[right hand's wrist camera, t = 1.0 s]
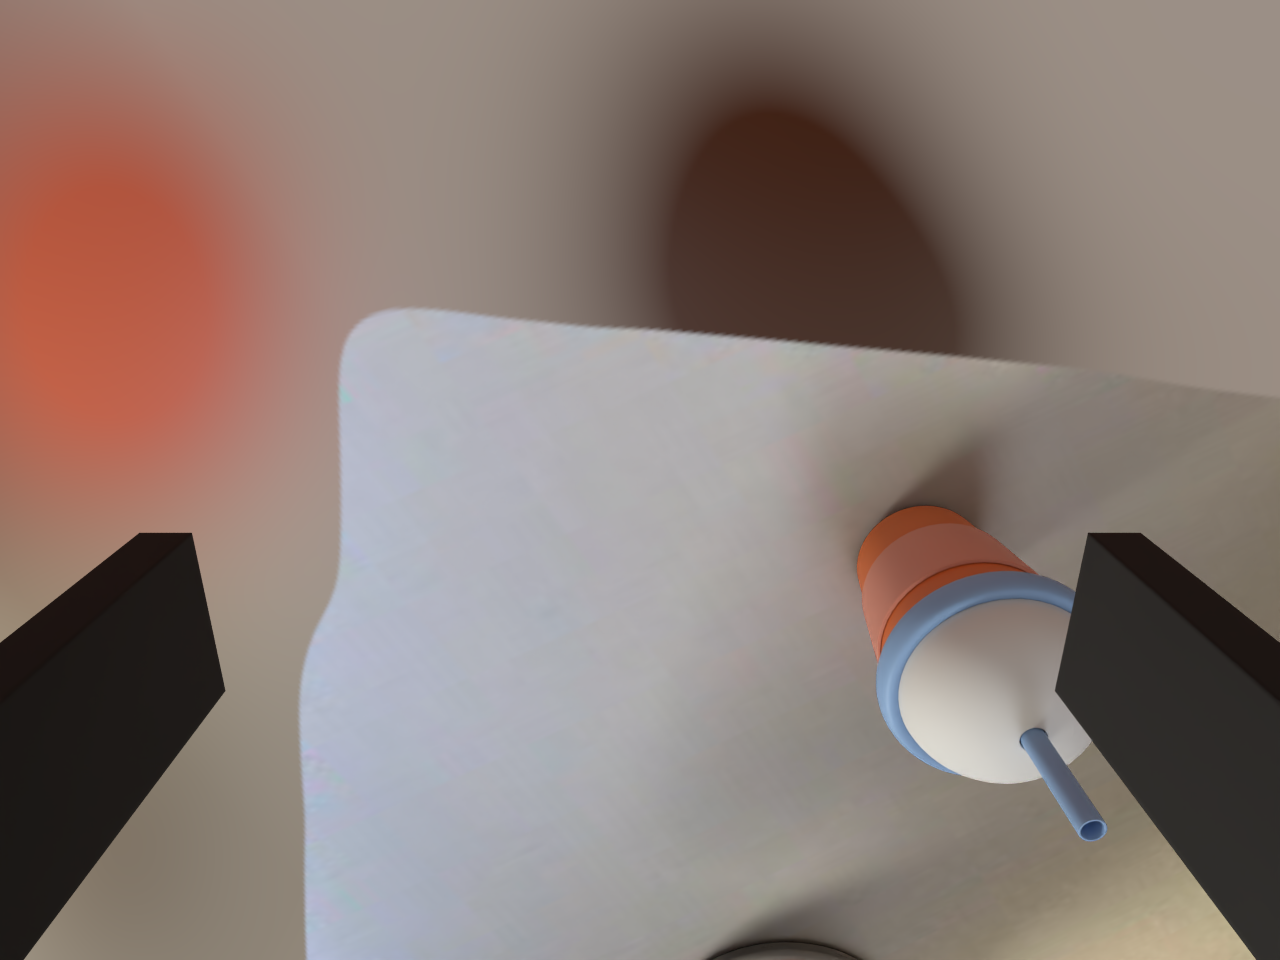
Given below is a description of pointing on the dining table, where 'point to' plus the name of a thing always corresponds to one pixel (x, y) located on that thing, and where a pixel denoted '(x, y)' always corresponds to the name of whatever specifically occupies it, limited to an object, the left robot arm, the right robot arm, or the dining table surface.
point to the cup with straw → (972, 655)
